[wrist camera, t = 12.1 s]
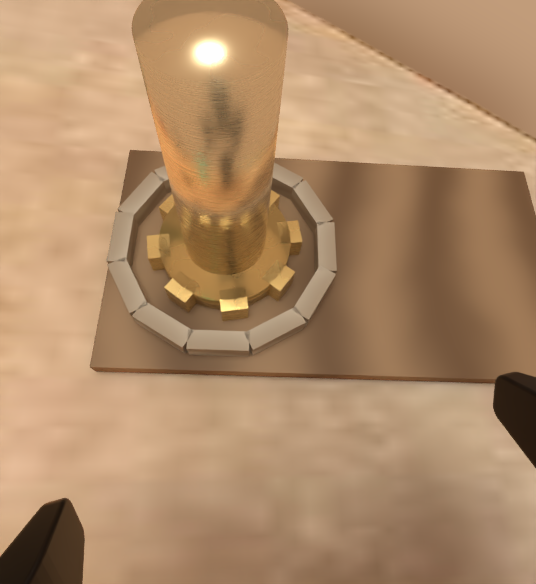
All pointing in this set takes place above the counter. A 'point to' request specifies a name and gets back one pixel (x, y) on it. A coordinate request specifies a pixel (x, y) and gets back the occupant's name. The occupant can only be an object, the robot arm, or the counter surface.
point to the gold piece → (218, 149)
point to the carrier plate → (343, 280)
